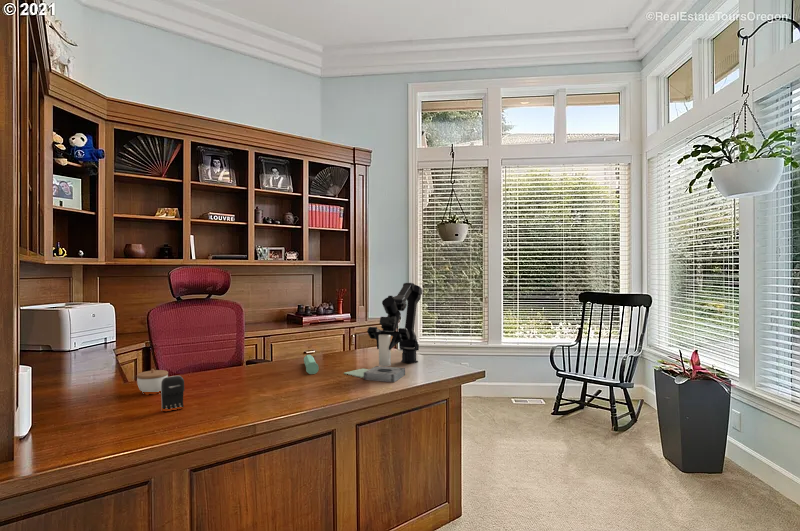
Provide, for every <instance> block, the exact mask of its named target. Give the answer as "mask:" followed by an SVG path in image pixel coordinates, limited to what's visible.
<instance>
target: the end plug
mask: <svg viewBox="0 0 800 531" xmlns="http://www.w3.org/2000/svg"><path fill="white" fill-rule="evenodd" d="M391 340H392V336H390V335H389V334H381V335H379V349H378V366H383V367H391V366H392V362H391V361H392V358H391V354H392V353H391V351H392V349H391V350H389V346H390V343H391Z"/></svg>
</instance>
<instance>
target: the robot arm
mask: <svg viewBox="0 0 800 531" xmlns="http://www.w3.org/2000/svg"><path fill="white" fill-rule="evenodd" d="M422 294H423V289H422V287H421V286H420V285H416V284H415V283H413V282H404V283H403V284H402V287H401V289H400V290H399V292H398V293H397V295H395V296H393V295H388V296H387V297H385V298H384V299H383V300H382V302H381V304H382V307H383V310H384V311H385V313H386V314H387V315H386V316H380V318H379V325H381V326H380V327H381V329H379V328H378V327H377V326H369V327H367V330H366V332H367V334H368V336H369V338H370V339H371V340H376V349H377V350H379V335H381V334H389V335H390V336H391V343H390V346H389V350H391V351H392V349H393V348H394V347H395V346H397V345H398V344H399V351H402V354H401V360H400V362H402V363H406V364H415V363H419V361H418V360H417V351H419V349H420V344H419V341H418V339H417V334H416V333H415V326H416V325H415V324H416V314H417V305H418V303H419V302H420V301H421V297H422ZM406 301H407V302H406ZM406 307H407V308H406ZM405 309H406V316H405V324H404V328H402V327H399V322H400V320H402V317H401V314H402V313H401V312H404V311H405ZM397 329H398V330H397ZM414 362H415V363H414Z"/></svg>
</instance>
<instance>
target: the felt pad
mask: <svg viewBox="0 0 800 531" xmlns="http://www.w3.org/2000/svg"><path fill="white" fill-rule="evenodd" d="M368 370H370V369H367V368H358V369H355V370H350V371H346V372H343V374H344V375H347V374H348V375H347V376H351V375H352V377H355V378H360V379H361V378H362V379H364V372H366V371H368Z"/></svg>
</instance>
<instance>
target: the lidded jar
mask: <svg viewBox="0 0 800 531" xmlns="http://www.w3.org/2000/svg"><path fill="white" fill-rule="evenodd" d="M165 377H169V371H167V370H166V369H165V370H164V369H156V370H155V369H154V368H151V369H150V370H147V371H141V372H139V373H137V375H136V384H137V386H138V389H139V391H140V392H141V391H142V393H143V392H159V391H161V381H162V379H163V378H165Z"/></svg>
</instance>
